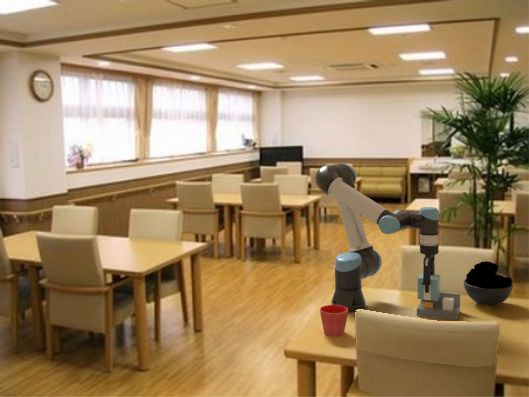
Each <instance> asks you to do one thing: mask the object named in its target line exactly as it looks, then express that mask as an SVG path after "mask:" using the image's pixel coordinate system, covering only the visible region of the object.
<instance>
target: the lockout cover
mask: <svg viewBox="0 0 529 397" xmlns="http://www.w3.org/2000/svg"><path fill="white" fill-rule="evenodd" d="M425 282H426V281H425ZM422 283H423V272H422V273H420V274H419V275H418V277H417V299H418V300H421V299H423V300H424V285H422ZM430 285H431V300H433V301H438V299H439V297H440V291H441V274H431V279H430Z"/></svg>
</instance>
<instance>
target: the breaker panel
mask: <svg viewBox="0 0 529 397" xmlns="http://www.w3.org/2000/svg"><path fill="white" fill-rule="evenodd" d="M444 297H446V298H454V310H453V311H451V310H443V298H444ZM423 301H424V300H423V299H420V302H419V304H418V306H417V308H416V316H417V317H419V316H420V317H425V316H427V318H433V319H434V318H435V319H440V320H441V319H443V320H450V321H451V320H452V321H457V320H458V318H459V316H460V312H461V293H459V292H451V291H450V292H449V291H441V290H440V297H439V299H438V301H434V308H425V307H423Z"/></svg>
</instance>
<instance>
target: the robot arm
mask: <svg viewBox="0 0 529 397" xmlns="http://www.w3.org/2000/svg"><path fill="white" fill-rule="evenodd" d="M356 181H357V172H356V171H355V169H354V168H353V166H352V165H350V164H347V163H336V164H326V165H323V166H321V167H319V168H318V170H317V171H316V173H315V176H314V182H315V185H316V186H317V187H318V189H319V191H321V192H322V193H324V194H325V195H326V196H328V197H330V198H332V197H333V198H334V199H335V200H336V204H337V207H338V210H339V215H340V218H341V221H342V225H343V228H344V230H345V235H346V239H347V242H348V244H349V249H348V251H347V252H343V253H340V254H338V255H336V257H335V259H334V293H333V294H332V295H333V296H332V299H331V301H330V302H331V303H330V305H340V306H344V307H346V308H348V313H349V312H350V313H351V312H352V313H353V312H356V311H355V310H357V309H363V310H364V309H366V306H367V304H366V303H367V302H366V299H365V296H364V292H363V289H362V282H363V281H362V280H364V279H366V278H369V277H372V276H374V275H375V274H377V273H378V272H379V271H380V269H381V267H382V264H383V263H382V257H381V255H380V254H379V252H377V250H375V248H374V246H373V244H371V243H369V241H368V238H367V237H368V236H367V234H366V230H365V227H364V225H363V222H362V218H361V215H362V216H363V217H365V218H367V219H368V220H370V221H371V222H373V223H375V224H376V225H377V226H378V228H379V230H380V232H381V233H383V234H385V235H392V234H396V233H397V232H400V231H404V230H407V229H410V230H411V229H413V230H419V253H420V254H422V255H424V257H423V262H422V264H423V265H422V266H423V270H422V271H423V272H422V274H423V283H422V285H424V300H431V285H430V279H431V274H435V272H436V271H435V267H436V265H435V260H436V258H435V255H438V254H439V246H440V245H439V240H440V239H441V237H440V236H439V227H440V226H439V225H440V224H439V223H440V222H439V221H440V215H439V209H438V208H437V207H433V206H422V207H420V209H419V211H416V210H405V209H397V210H394V211H393V212H392V211H390V210H389V209H387V208H386V207H384V206H382V205H380V204H379V203H378V202H376V201H374V200H373V199H371V198H370V197H368V196H366V195H365V194H364V193H361V192H360V191H359V190H357V189H356V185H355V184H356ZM435 275H436V274H435ZM425 281H426V282H425Z"/></svg>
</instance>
